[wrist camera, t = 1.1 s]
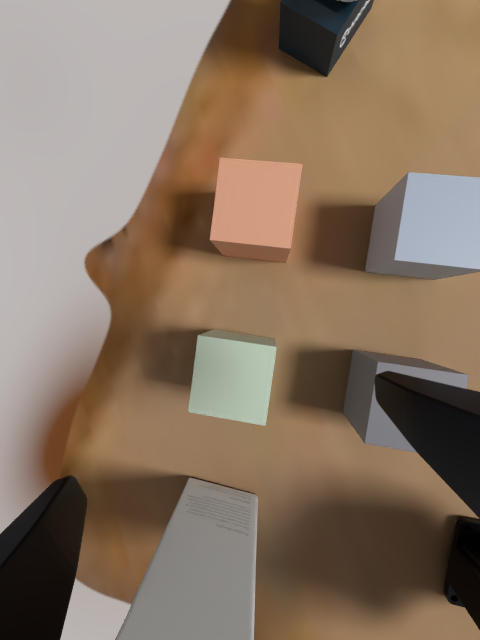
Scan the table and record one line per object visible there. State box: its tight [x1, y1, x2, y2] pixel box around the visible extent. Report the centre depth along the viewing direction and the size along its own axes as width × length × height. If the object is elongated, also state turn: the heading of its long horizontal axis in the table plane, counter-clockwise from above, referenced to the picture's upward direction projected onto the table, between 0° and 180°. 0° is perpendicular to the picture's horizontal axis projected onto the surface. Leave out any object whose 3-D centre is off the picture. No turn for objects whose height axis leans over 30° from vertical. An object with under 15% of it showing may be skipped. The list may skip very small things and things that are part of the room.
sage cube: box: [188, 330, 277, 426], centre depth 20 cm, size 5×5×5 cm
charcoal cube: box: [343, 350, 469, 453], centre depth 18 cm, size 5×5×5 cm
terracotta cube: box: [210, 158, 302, 263], centre depth 19 cm, size 5×5×5 cm
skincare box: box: [115, 478, 258, 640], centre depth 17 cm, size 6×4×12 cm
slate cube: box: [365, 172, 480, 280], centre depth 18 cm, size 5×5×5 cm
